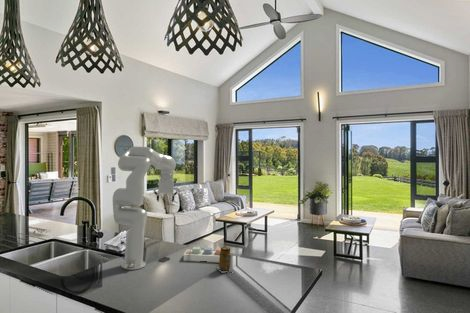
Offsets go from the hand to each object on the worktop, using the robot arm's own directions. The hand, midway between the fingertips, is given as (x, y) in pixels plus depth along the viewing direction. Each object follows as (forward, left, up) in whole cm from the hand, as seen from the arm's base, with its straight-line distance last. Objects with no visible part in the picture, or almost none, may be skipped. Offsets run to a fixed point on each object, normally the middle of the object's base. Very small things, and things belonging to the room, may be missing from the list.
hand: (165, 201), depth 204 cm
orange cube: (-24, -40, -27) cm, 54 cm away
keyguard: (-24, -32, -29) cm, 50 cm away
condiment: (-41, -44, -30) cm, 67 cm away
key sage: (-24, -26, -27) cm, 45 cm away
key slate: (-24, -33, -27) cm, 49 cm away
